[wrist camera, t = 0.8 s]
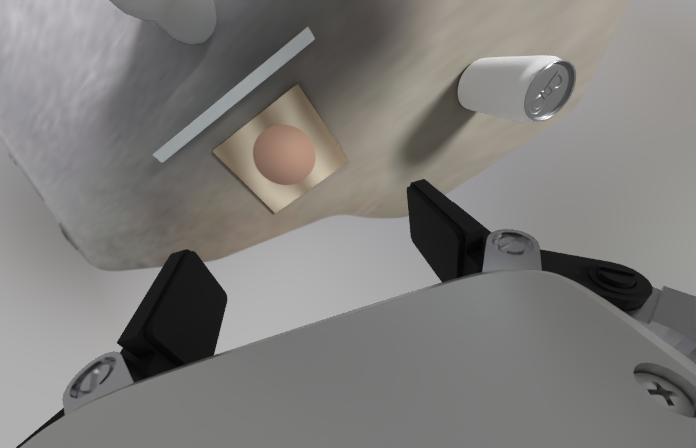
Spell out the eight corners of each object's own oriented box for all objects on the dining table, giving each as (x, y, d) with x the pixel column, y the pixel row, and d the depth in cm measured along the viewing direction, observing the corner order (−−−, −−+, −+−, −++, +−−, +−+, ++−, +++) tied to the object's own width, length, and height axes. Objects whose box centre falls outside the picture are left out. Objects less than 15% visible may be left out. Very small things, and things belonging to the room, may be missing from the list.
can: (446, 93, 35) (509, 104, 25) (479, 46, 33) (562, 38, 23) (474, 118, 38) (540, 136, 28) (506, 76, 36) (590, 80, 26)
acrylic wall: (305, 31, 28) (307, 26, 25) (311, 42, 29) (315, 38, 26) (166, 145, 31) (152, 154, 28) (174, 153, 32) (162, 163, 29)
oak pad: (297, 83, 31) (297, 83, 30) (348, 159, 37) (349, 161, 37) (213, 149, 33) (212, 151, 32) (275, 211, 39) (275, 213, 39)
